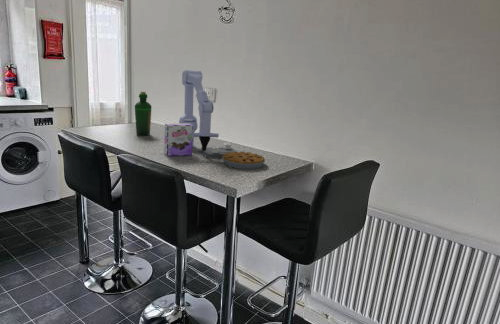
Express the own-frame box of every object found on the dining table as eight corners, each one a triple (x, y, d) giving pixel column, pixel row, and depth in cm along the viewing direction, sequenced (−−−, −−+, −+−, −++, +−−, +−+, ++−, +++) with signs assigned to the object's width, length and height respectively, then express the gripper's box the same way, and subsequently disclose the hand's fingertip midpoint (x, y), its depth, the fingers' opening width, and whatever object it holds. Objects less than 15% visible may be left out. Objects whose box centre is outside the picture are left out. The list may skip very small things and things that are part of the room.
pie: (230, 171, 159) (231, 161, 158) (215, 159, 178) (216, 150, 177) (271, 169, 168) (272, 159, 167) (253, 158, 187) (254, 149, 186)
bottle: (155, 135, 227) (155, 92, 220) (142, 137, 218) (142, 92, 211) (144, 132, 232) (144, 91, 225) (131, 134, 224) (130, 91, 217)
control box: (206, 157, 179) (207, 154, 179) (201, 150, 194) (201, 147, 193) (239, 157, 185) (239, 153, 185) (231, 150, 200) (231, 147, 199)
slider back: (225, 149, 192) (225, 144, 191) (223, 147, 196) (223, 142, 195) (230, 149, 193) (230, 144, 192) (228, 147, 197) (228, 142, 196)
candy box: (166, 156, 176) (167, 124, 172) (163, 153, 181) (164, 123, 177) (192, 155, 182) (193, 124, 178) (189, 152, 187) (189, 123, 183)
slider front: (213, 153, 181) (213, 147, 180) (211, 151, 185) (211, 145, 184) (218, 153, 182) (218, 147, 181) (216, 151, 186) (217, 145, 185)
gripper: (192, 126, 172) (191, 152, 175) (220, 126, 177) (219, 152, 180) (190, 123, 178) (189, 149, 182) (217, 124, 183) (216, 149, 186)
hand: (204, 150), depth 181 cm, fingers closed
